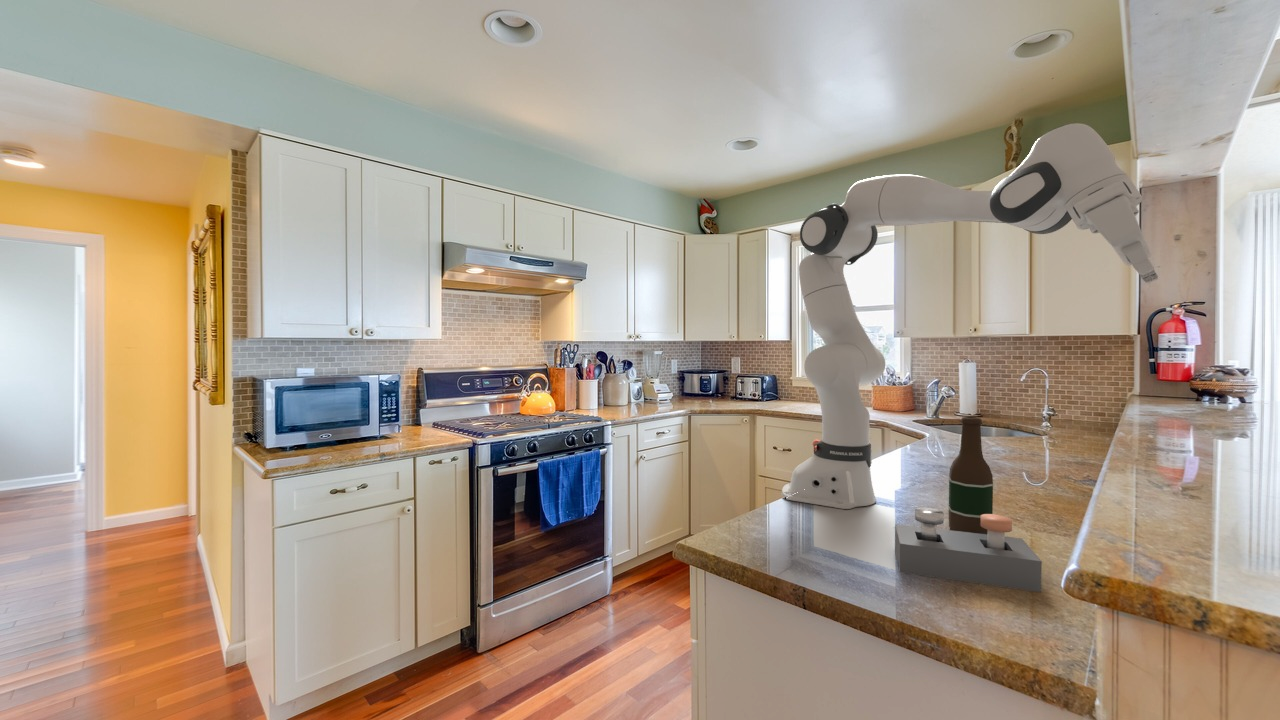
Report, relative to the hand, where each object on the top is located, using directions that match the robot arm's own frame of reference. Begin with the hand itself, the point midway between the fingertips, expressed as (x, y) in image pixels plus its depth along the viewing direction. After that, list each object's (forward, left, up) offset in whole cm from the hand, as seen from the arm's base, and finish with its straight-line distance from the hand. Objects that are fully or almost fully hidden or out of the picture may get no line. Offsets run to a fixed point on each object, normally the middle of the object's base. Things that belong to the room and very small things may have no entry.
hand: (1150, 276), depth 83 cm
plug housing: (-26, -5, -50) cm, 57 cm away
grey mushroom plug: (-31, -5, -46) cm, 56 cm away
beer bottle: (-21, +15, -50) cm, 56 cm away
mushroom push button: (-21, -5, -46) cm, 51 cm away
